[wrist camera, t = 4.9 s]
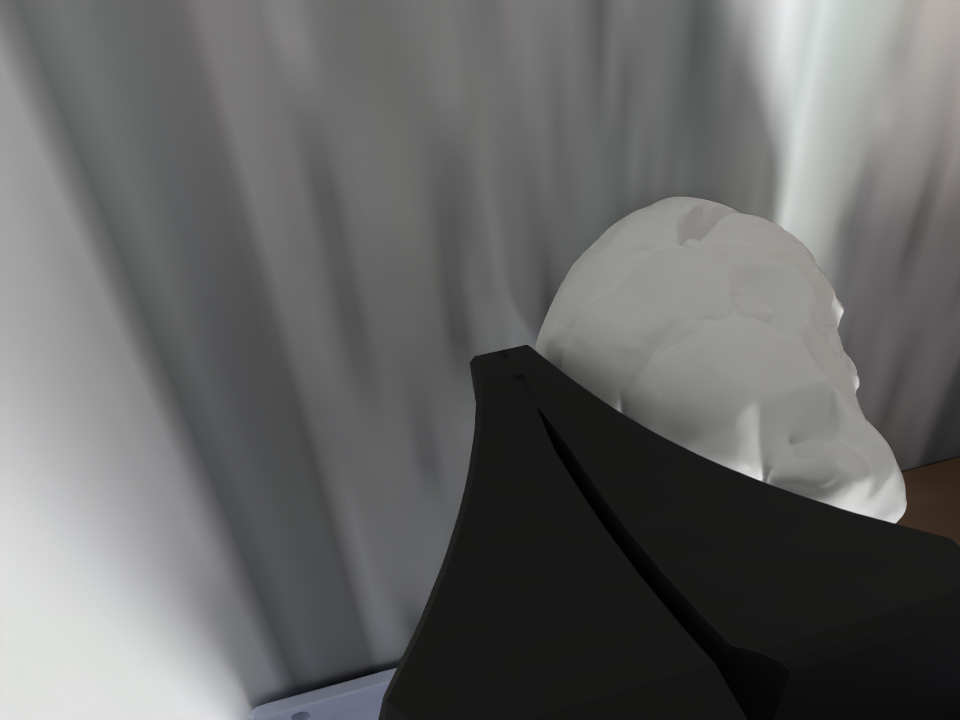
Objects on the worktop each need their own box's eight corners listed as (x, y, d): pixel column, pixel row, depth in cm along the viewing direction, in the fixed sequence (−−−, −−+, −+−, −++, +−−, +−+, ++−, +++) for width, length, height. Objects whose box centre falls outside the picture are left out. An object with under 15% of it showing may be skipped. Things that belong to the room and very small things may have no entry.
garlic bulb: (1127, 436, 7) (822, 675, 9) (811, 260, 12) (654, 441, 14) (918, 262, 5) (570, 630, 7) (630, 129, 10) (473, 369, 12)
